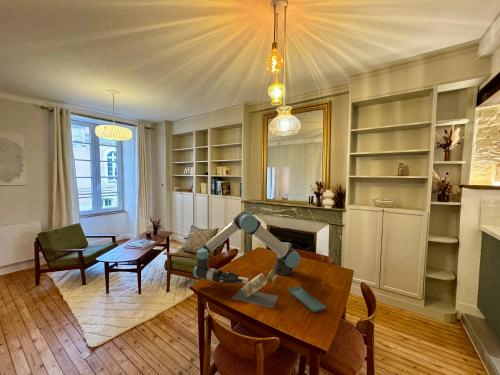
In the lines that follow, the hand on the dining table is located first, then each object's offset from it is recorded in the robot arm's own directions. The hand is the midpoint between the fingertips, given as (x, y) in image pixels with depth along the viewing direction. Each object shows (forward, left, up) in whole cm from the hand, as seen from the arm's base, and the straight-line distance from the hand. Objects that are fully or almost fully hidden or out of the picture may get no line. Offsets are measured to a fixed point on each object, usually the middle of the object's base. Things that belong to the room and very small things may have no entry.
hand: (247, 281), depth 140 cm
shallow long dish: (-35, +9, -11) cm, 37 cm away
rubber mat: (-5, +3, -10) cm, 11 cm away
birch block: (+1, -1, -7) cm, 7 cm away
